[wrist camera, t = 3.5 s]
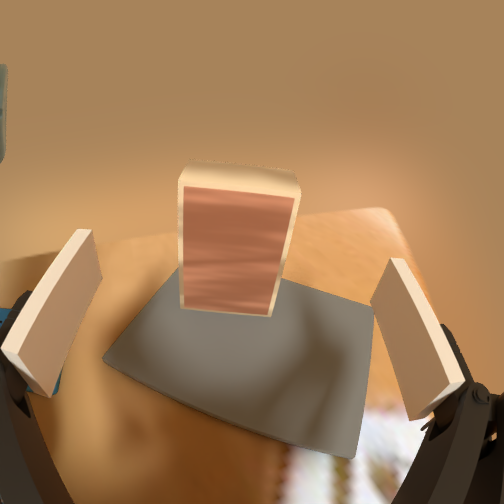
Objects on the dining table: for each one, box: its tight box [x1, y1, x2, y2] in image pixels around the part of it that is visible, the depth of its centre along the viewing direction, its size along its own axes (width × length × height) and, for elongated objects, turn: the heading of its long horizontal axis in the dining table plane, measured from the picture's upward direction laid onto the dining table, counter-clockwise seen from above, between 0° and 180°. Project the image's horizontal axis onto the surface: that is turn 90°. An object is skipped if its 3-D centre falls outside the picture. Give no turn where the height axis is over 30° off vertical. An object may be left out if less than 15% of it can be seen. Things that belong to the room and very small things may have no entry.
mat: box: [102, 267, 374, 459], centre depth 25 cm, size 20×16×1 cm
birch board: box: [178, 159, 302, 317], centre depth 24 cm, size 4×8×12 cm, turn 90°
